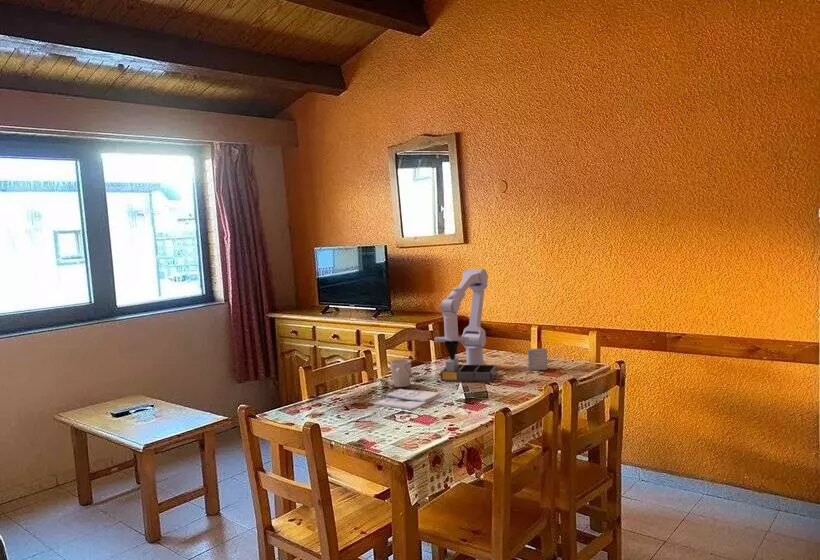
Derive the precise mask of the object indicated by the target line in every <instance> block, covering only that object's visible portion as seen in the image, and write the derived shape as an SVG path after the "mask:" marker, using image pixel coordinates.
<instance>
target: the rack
mask: <svg viewBox="0 0 820 560" xmlns="http://www.w3.org/2000/svg"><path fill="white" fill-rule="evenodd" d="M497 374H498V369H497V364H485V365H467V364H459V370H458V371H457V372H446V366H445V367H444V368H443V369H442V370H441V371H440V381H441V382H463V381H483V382H482V383H493V382H494V379H495V378H496V376H497Z"/></svg>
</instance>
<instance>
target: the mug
mask: <svg viewBox="0 0 820 560" xmlns="http://www.w3.org/2000/svg"><path fill="white" fill-rule="evenodd" d="M390 370H391V376H392V380H393V381H392V382H393V385H394V387H396V388H405V387H406V388H407V387H409V386H410V384H411V376H412V360H411V359H408V358H398V359H393V360H391V361H390Z"/></svg>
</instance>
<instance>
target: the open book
mask: <svg viewBox="0 0 820 560" xmlns="http://www.w3.org/2000/svg"><path fill="white" fill-rule="evenodd" d="M440 394H441V393H440V392H435V391H427V390H426V391H425V390H415V389H403V388H399V389H397V390H393V391H391V392H389V393H386V394H385V396H386V397H384V398H383V399H381V400H378V401H376V402H374V403H373V405H374V406H382V407H387V408H388V407H389V408H395V409H403V410H407V411H414V410H416V409H419V408H420V407H423V406H424V405H427V404H428V403H431V402H432V401H435V400H438V399H439V398H441V397H442V395H440Z"/></svg>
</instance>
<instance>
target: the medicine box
mask: <svg viewBox="0 0 820 560" xmlns="http://www.w3.org/2000/svg"><path fill="white" fill-rule="evenodd" d="M527 361H528V362H527V366H528V367H527V368H528V369H529V370H528V371H547V370H549V369H548V351H547V348H528V349H527Z"/></svg>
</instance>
